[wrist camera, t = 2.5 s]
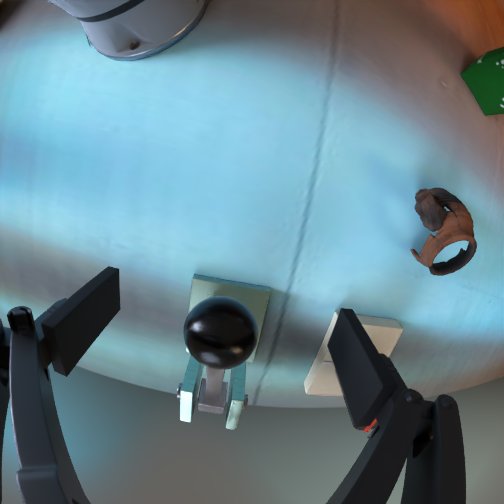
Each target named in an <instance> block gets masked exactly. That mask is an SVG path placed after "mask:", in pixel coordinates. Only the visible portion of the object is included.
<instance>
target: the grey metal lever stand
mask: <svg viewBox="0 0 504 504" xmlns="http://www.w3.org/2000/svg"><path fill="white" fill-rule="evenodd" d="M216 296H226V297H231V298H234V299H236V300H238V301H240V302H241V303H243V304H244V305H245V306H247V307H248V308H249V310H250V311H251V312H252V314H253V315H254V317H255V319H256V322H257V325H258V342H259V338H260V334H261V330H262V326H263V322H264V317H265V313H266V309H267V305H268V301H269V297H270V287H264V286H258V285H252V284H246V283H240V282H235V281H229V280H223V279H218V278H212V277H207V276H201V275H196V274H194V276H193V278H192V285H191V295H190V306H189V313H190V311H191V310H192V309H193V308H194V307H195V306H196V305H197V304H198V303H200V302H201V301H203V300H205V299H207V298H210V297H216ZM258 342H257V345H256V348H255V350H254V352H253V353H252V355H251V356H250V357H249V358H248V359H247V360H246V361H245V362H244V363H242V364H241V365H239V366H237V367H234V368H231V377H230V386H229V396H228V406H227V416H226V426H225V428H227V429H234V430H236V429H237V426H238V423H239V419H240V415H241V412H242V409H246V408H247V403H248V395H245V376H246V363H253V361H254V357H255V354H256V350H257V346H258ZM186 352H189V351H188V349H187V347H186ZM189 353H190V352H189ZM203 367H204V365H202V364H201V363H199V362H198V361H197V360H196V359H195V358H194V357H193V356H192V355H191V356H190V360H189V363H188V366H187V370H186V373H185V376H184V380H183V383H180V384H179V386H178V391H177V398H180V420H182V421H186V422H191V420H192V416H193V412H194V407H195V402H196V398H197V394H198V389H199V385H200V380H201V376H202V372H203Z"/></svg>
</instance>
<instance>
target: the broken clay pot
mask: <svg viewBox="0 0 504 504" xmlns="http://www.w3.org/2000/svg"><path fill="white" fill-rule="evenodd" d="M415 199H416V201H417V203H416V205H415V210H416V212H417V213H418V214H419V215H420V219H421V221H422V222H423V225H424V226H425V227H426V228H428V229H429V230H431V231H436V230H438V232H437V234H436V236H434V235H432V234H430V235H429V237H428V239H427V241H426V243H425V244H424V246H423V249H422V251H421V254H420V256H419V255H418V254H417V252H416V251H415V250H414V249H411V252H412V254H413V255H414V257H415V258H416V260H417V261H419V262H420V263H421V264H423V265H424V266H426V267H429V269H430V273H431V274H433V275H438V276H440V275H446V274H449V273H453V272H455V271H457V270H459V269H460V268H462V267H463V266H465V265H466V264H467V263H468V262H469V261H470V260H471V259H472V257H473V256H474V254H475V252H476V248H477V243H476V241H475V239H474V231H473V220H472V218H471V215H470V213H469V212H468V211H467V209H466V207H465V205H464V204H463V203H462V202H461V201H460V200H459V199H458V198H457V197H456V196H454V195H452V194H450V193H449V192H448V191H447V190H445V189H442V188H432V189H429V190H428V189H420V190H419V191H418V192H417V193H416V196H415ZM445 206H446V207H447V208H448V209H449V210H450V211H446V209H444V207H445ZM461 240H467V241H469V244H468V247H467V250H466V251H465V250H463V249H462V248H461V249H460V252H459V254H458V255H457V256H455V257H454V258H451V259H450V260H448V261H447V262H440V263H433V261H434V258H435V257H436V256H437V254H438V253H439V252H440V251H441V250H442V249H443V248H444V247H446V246H448V245H450V244H452V243H454V242H457V241H461Z"/></svg>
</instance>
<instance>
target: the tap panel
mask: <svg viewBox="0 0 504 504" xmlns="http://www.w3.org/2000/svg"><path fill="white" fill-rule="evenodd" d="M338 315H339V312H338V311H335V313H334V316H333V318H332V321H331V323H330V325H329V328H328V330H327V333H326V335H325V337H324V340H323V342H322V344H321V347H320V349H319V351H318V353H317V356H316V358H315V360H314V362H313V365H312V367H311V369H310V371H309V373H308V375H307V377H306V379H305V381H304V386H305V391H306V394H310V395H328V396H343V394H342V391H341V388H340V385H339V382H338V379H337V376H336V373H335V366H334V363H333V361H332V358H331V355H330V352H329V350H328V347H327V344H328V342H329V339H330V336H331V334H332V331H333V329H334V326H335V323H336V321H337V318H338ZM356 316H357V318H358V319H359V321H360V322H361V324H362V326H363V327H364V329H365V330H366V332H367V334H368V335H369V337H370V339H371V340H372V342H373V344H374V345H375V347H376V349H377V350H378V352H379V353H384V354H385V355H386V356H387V357H388V358H389V356H390V354H391V352H392V350H393V349H394V347H395V345H396V343H397V341H398V339H399V337H400V335H401V333H402V331H403V328H402V326H401V325H400V324H399V323H398V321H397V320H394V319H386V318H378V317H371V316H364V315H357V314H356Z"/></svg>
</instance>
